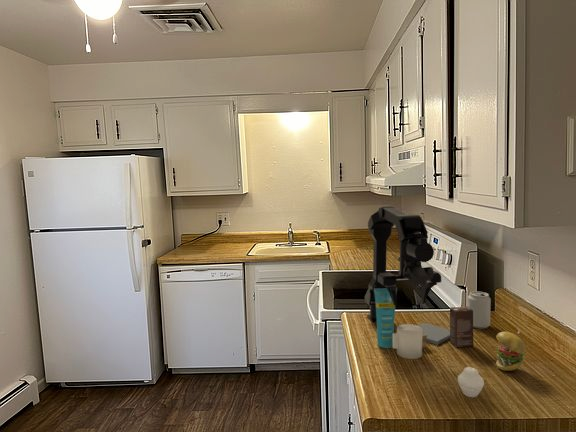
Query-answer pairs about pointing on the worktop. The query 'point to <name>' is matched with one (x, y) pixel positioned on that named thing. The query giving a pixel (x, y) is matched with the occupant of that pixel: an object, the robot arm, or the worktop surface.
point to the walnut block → (424, 340)
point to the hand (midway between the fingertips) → (409, 304)
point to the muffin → (470, 382)
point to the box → (461, 326)
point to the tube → (384, 317)
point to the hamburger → (509, 351)
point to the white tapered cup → (408, 341)
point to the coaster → (435, 333)
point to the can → (480, 308)
